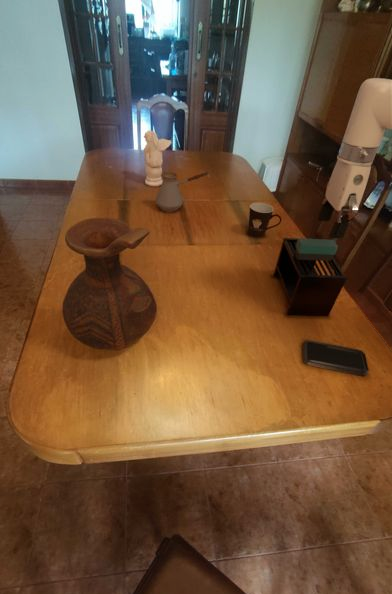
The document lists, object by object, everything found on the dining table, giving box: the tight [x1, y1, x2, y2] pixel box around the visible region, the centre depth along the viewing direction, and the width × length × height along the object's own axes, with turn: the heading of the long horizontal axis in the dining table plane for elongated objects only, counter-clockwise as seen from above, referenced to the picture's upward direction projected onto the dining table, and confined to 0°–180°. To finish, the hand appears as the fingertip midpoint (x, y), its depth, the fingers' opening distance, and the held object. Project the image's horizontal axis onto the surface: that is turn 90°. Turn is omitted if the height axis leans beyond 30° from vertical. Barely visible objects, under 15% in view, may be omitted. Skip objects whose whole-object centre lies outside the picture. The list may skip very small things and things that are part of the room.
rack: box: [272, 237, 348, 317], centre depth 92 cm, size 12×20×13 cm, turn 2°
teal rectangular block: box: [295, 237, 339, 262], centre depth 86 cm, size 10×4×4 cm, turn 92°
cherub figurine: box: [143, 130, 172, 187], centre depth 143 cm, size 12×12×22 cm
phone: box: [302, 339, 369, 377], centre depth 78 cm, size 8×1×15 cm
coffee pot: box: [155, 171, 210, 213], centre depth 128 cm, size 21×12×15 cm, turn 87°
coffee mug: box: [247, 202, 282, 239], centre depth 118 cm, size 12×9×10 cm
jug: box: [61, 217, 158, 351], centre depth 70 cm, size 22×22×30 cm
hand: (329, 228), depth 81 cm, fingers open, 9 cm apart
